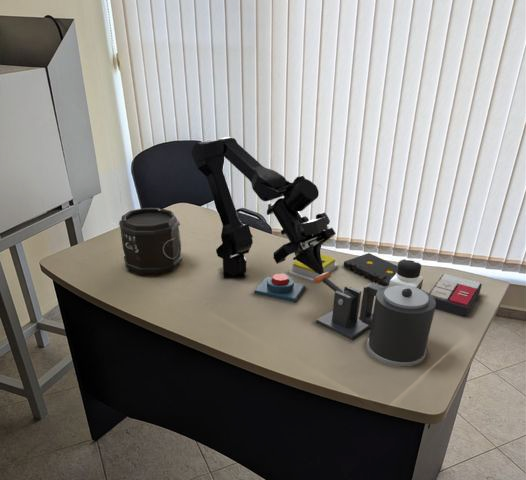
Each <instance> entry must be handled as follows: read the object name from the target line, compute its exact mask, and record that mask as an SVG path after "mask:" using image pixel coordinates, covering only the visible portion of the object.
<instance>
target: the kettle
mask: <svg viewBox="0 0 526 480" xmlns="http://www.w3.org/2000/svg"><path fill="white" fill-rule="evenodd" d="M376 283H377V282H376ZM376 283H374V282H372V283H371V282H370V283H368V284H366V285H365V286H363V289H362V290H363V291H362V292H363V293H362V296H361V303H360V310H359V311H360V312H359V317H360V318H359V320H361V321H362V322H363V323H365V324H367V325H369V326H371V327H370V328H369V330H370V331H369V337H368V338H367V341H366V349H367V351H368V353H369V354H370V355H371V356H372V357H373V358H375V359H376V360H377V361H380V362H382V363H385V364H386V365H391V366H395V367H396V366H397V367H411V366H415V365H418V364H420V363H422V362H423V361H424V359H426V355H427V345H428V341H429V337H430V332H431V328H432V324H433V319H434V315H435V311H436V308H435V307H436V300H435V299H434V297H433V296H432V295H431V294H429V293H430V292H428V291H426V290H424V289H422V288H421V289H419V288H416V287H412V286H406V285H390V286H386V287H384V286H382V285H379V284H376Z"/></svg>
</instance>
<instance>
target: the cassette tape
mask: <svg viewBox="0 0 526 480" xmlns="http://www.w3.org/2000/svg"><path fill="white" fill-rule="evenodd" d="M397 266H398V264H397V265H396V264H394V263H392V262H390V261H388V260H385V259H383V258H381V257H379V256H376V255H375V254H372V253H370V252H368V253H364V254H361V255H359V256H356V257H353V258H350V259H347V260H345V261H343V267H344V268H346V269H348V270H349V272H352V273H354V274H356V275H358V276H361V277H362V276H363V278H365V279H366V280H368V281H369V282H372V283H376V284H379V285H381V286H384V287H386V286H389V284H390V280H391V279H392V278H393V277H394V276H395V274H396V272H397Z"/></svg>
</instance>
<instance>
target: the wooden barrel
mask: <svg viewBox="0 0 526 480" xmlns="http://www.w3.org/2000/svg"><path fill="white" fill-rule="evenodd" d="M118 226H119V228H120V229H119V230H120V237H121V244H122V250H123V254H124V256H123V259H124V264H125V266H126V268H127V269H128V270H129V272H131V273H134V274H136V275H139V276H142V277H143V276H144V277H146V276H148V277H149V276H150V277H151V276H152V277H153V276H154V277H155V276H156V277H158V276H161V275H165V274H169V273H173V272H174V271H175V270H176V269H177V268H178V267H179V266H180V263H181V262H182V261H183V256H182V241H181V233H180V227H179V226H181V222H180V221H179V218H178V217H177V216H176V215H175V213H174V212H173V211H171V210H169V209H165V208H160V207H142V208H137V209H133V210H130V211H128V212H126V213H125V214H122V215H121V219H120V220H119V221H118Z"/></svg>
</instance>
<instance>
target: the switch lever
mask: <svg viewBox="0 0 526 480" xmlns="http://www.w3.org/2000/svg"><path fill="white" fill-rule="evenodd" d="M331 275H332V274H331V272H326V273H324V274H322V275H320V276H318V277H316V278H314V281H313V283H314V284H316V285H318V284H320V283H324V285H326V286H327V287H328V288H330V289H331V290H332V291H333V292H334V293H335V292H336V291H339V292H341V293H343V294H346V295H348V296H350V297H352V300H351V304H352V303H353V301H354V299H355V297H356V296H354V295H353V294H352V293H351V292H349V291H348V290H346V291H345V292H344V290H343V289H341V288H340V287H339V286H337V285H336V284H335V283H334V282H332V281H331V280H330V278H331Z"/></svg>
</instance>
